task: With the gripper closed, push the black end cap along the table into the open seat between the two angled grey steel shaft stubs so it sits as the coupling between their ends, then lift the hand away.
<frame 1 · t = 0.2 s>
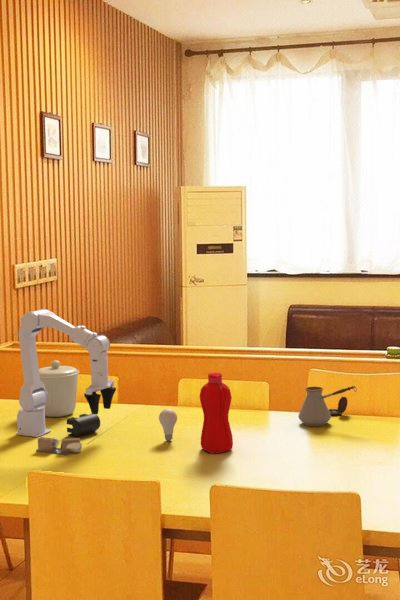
hand: (101, 411, 272), 10 cm above the table, tool pointing down, fingers open, 7 cm apart
shaft rig: (51, 449, 263), on the table
water bottle: (218, 451, 257), on the table
lightbulb: (168, 441, 269), on the table
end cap: (83, 435, 280), on the table
canister: (57, 414, 310), on the table
compass: (333, 415, 298), on the table
coffee pot: (327, 425, 283), on the table
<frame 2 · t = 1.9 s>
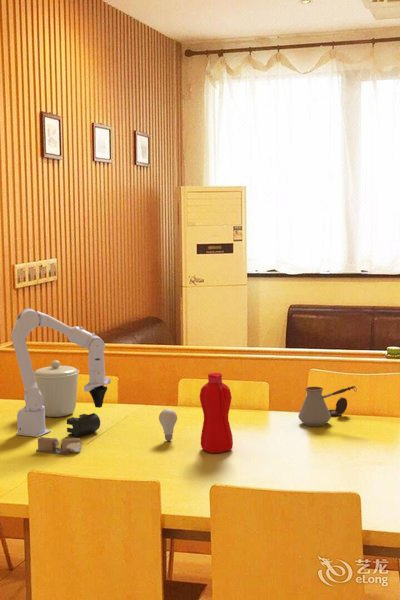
hand: (98, 407, 289), 7 cm above the table, tool pointing down, fingers closed
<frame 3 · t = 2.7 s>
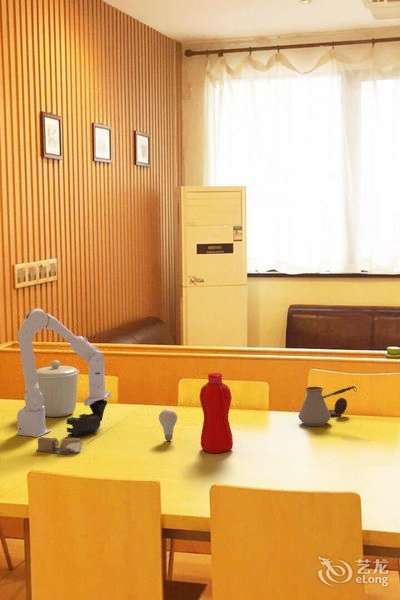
hand: (98, 420, 289), 2 cm above the table, tool pointing down, fingers closed
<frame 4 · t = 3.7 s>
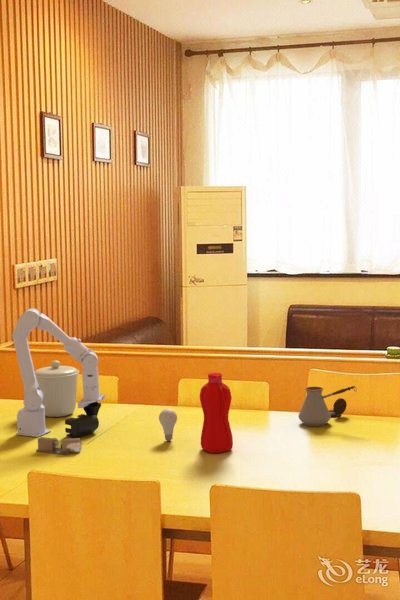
hand: (92, 423, 285), 2 cm above the table, tool pointing down, fingers closed
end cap: (82, 435, 280), on the table, touching gripper
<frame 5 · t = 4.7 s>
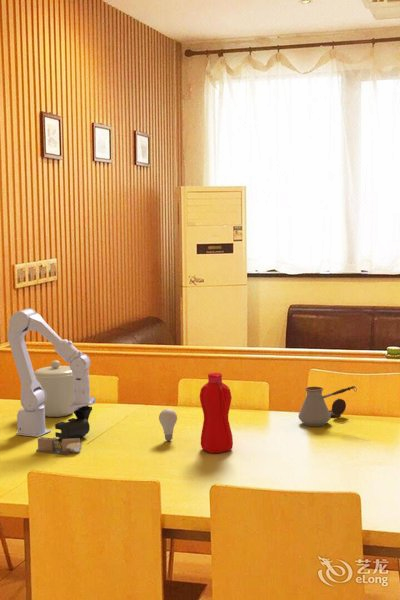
hand: (83, 427, 280), 2 cm above the table, tool pointing down, fingers closed
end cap: (72, 440, 274), on the table, touching gripper
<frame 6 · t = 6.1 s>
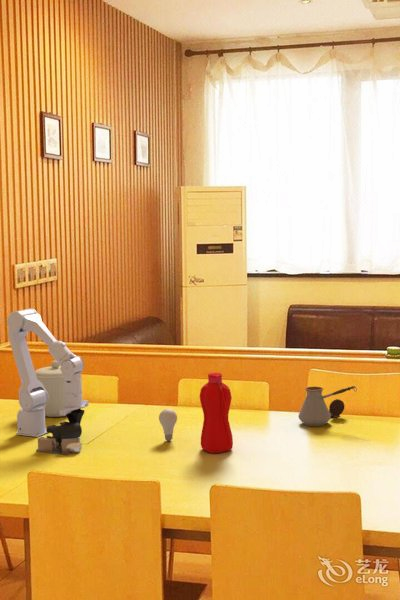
hand: (75, 431, 276), 2 cm above the table, tool pointing down, fingers closed
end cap: (64, 443, 270), on the table, touching gripper, shaft rig
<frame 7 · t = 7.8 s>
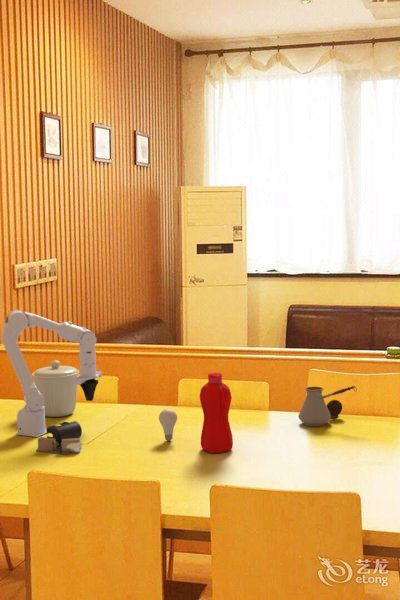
hand: (89, 400, 288), 10 cm above the table, tool pointing down, fingers closed
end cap: (64, 444, 270), on the table
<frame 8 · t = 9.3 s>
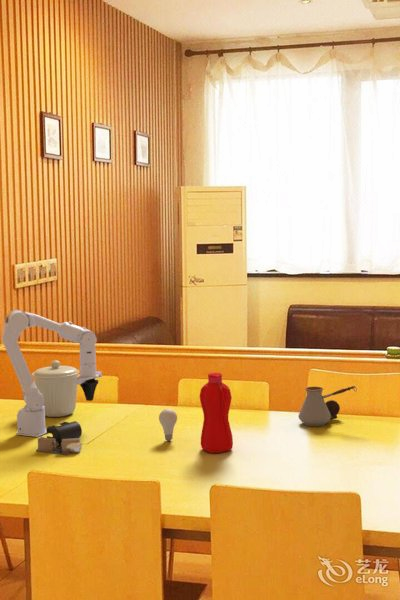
hand: (89, 400, 289), 10 cm above the table, tool pointing down, fingers closed
at the end: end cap inside the target area (0.2 cm from its centre), on the table; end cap moved 11.5 cm from its start; the gripper is holding nothing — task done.
